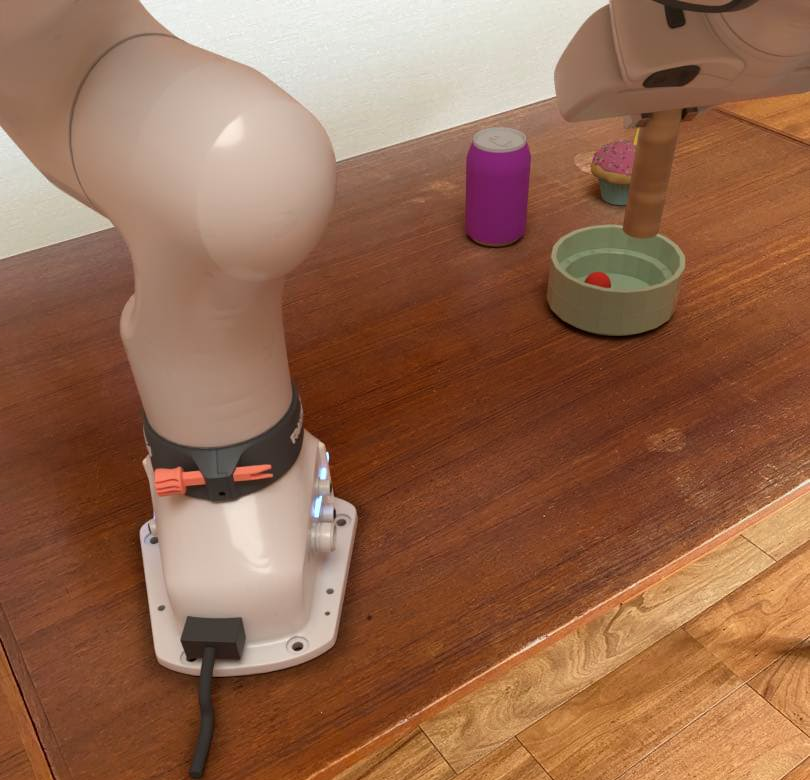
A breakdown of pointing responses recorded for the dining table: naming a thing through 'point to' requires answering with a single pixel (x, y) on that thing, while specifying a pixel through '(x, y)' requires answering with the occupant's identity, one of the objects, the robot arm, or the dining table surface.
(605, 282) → the berry
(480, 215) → the beverage can
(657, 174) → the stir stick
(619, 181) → the cupcake
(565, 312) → the bowl
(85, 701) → the dining table surface
